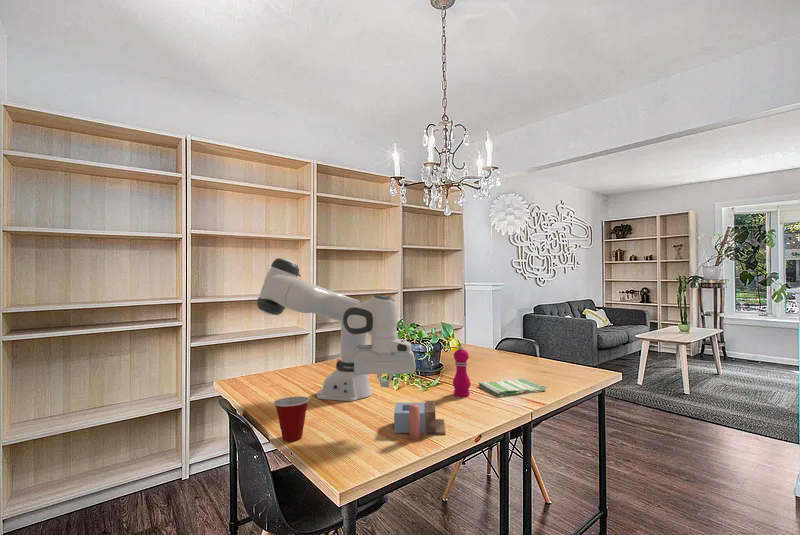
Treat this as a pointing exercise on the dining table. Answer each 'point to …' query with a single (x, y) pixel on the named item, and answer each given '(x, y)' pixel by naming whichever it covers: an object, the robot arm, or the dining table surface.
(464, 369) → the pepper mill
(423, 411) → the blue-grey slotted block
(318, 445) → the dining table surface
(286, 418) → the plastic cup
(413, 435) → the dowel
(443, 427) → the brown l-shaped block
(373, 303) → the robot arm
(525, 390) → the dish towel
